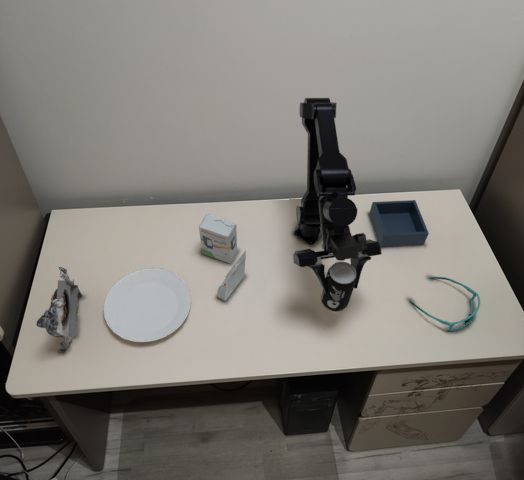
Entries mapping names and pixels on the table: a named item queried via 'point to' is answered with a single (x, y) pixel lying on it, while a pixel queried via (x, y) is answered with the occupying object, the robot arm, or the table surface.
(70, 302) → the grey ornamental figurine
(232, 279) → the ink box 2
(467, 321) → the sunglasses
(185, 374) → the table surface
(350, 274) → the beverage can
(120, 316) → the plate
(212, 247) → the ink box
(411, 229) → the tub
